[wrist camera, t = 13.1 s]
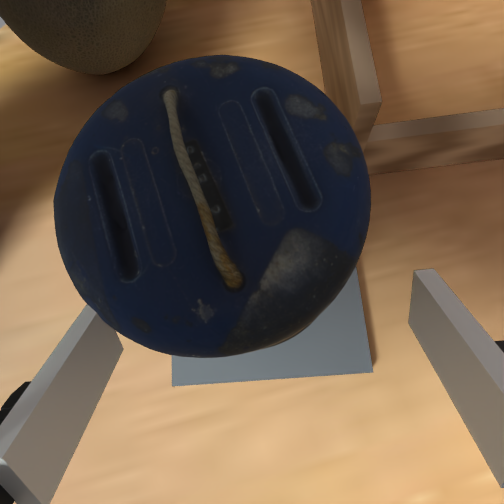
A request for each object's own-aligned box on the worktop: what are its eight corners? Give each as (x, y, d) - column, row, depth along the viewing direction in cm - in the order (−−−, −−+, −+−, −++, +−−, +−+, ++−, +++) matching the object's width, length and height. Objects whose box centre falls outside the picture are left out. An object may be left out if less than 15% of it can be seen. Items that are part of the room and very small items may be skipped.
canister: (314, 215, 26) (357, -30, 9) (333, 341, 24) (445, 339, 6) (193, 230, 27) (20, 33, 10) (199, 354, 25) (-20, 383, 7)
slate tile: (176, 384, 25) (172, 386, 24) (173, 209, 29) (169, 204, 28) (369, 371, 24) (373, 372, 23) (340, 189, 28) (342, 184, 27)
